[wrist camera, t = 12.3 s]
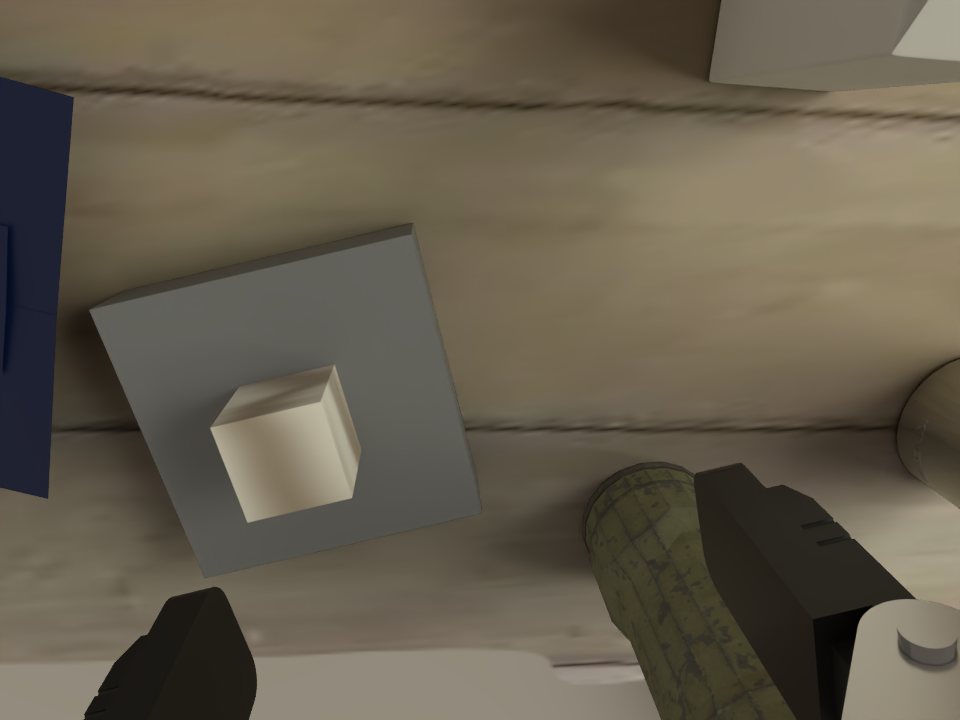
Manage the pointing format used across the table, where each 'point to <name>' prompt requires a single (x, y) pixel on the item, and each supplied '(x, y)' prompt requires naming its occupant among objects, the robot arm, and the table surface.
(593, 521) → the thermos
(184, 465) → the charcoal plinth
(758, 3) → the milk carton
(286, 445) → the cream cube
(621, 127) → the table surface
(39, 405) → the papers
